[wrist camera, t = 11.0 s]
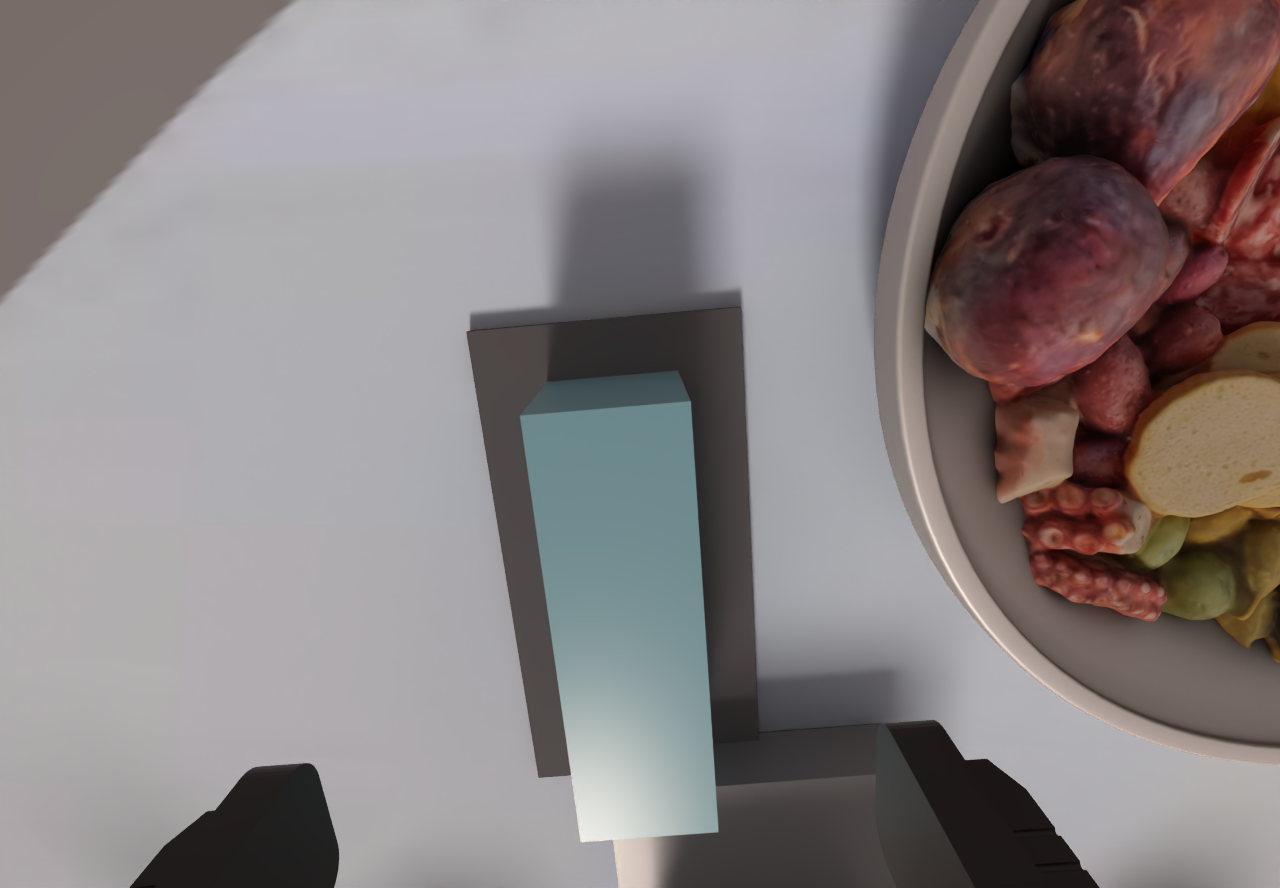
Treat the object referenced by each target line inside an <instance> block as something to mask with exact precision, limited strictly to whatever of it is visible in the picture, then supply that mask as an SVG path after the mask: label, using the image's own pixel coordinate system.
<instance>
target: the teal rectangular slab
mask: <svg viewBox="0 0 1280 888" xmlns="http://www.w3.org/2000/svg"><path fill="white" fill-rule="evenodd" d="M520 420H521V427H522V434H523V441H524V448H525V455H526V462H527V469H528V476H529V483H530V490H531V497H532V504H533V511H534V518H535V525H536V532H537V539H538V546H539V553H540V560H541V567H542V574H543V581H544V588H545V595H546V602H547V609H548V616H549V623H550V630H551V637H552V644H553V651H554V658H555V665H556V672H557V679H558V686H559V694H560V701H561V708H562V715H563V722H564V729H565V736H566V743H567V750H568V757H569V764H570V771H571V778H572V785H573V792H574V799H575V806H576V813H577V820H578V827H579V834H580V841H581V842H591V841H604V840H618V839H632V838H645V837H659V836H673V835H686V834H700V833H714V832H718V816H717V801H716V785H715V770H714V754H713V739H712V723H711V708H710V692H709V677H708V661H707V646H706V630H705V615H704V599H703V584H702V568H701V553H700V537H699V522H698V506H697V490H696V475H695V459H694V444H693V428H692V413H691V401H690V398H689V396H688V393H687V391H686V389H685V386H684V384H683V381H682V379H681V377H680V374H679V372H678V370H677V371H665V372H654V373H642V374H630V375H619V376H607V377H596V378H584V379H572V380H561V381H549V382H546V384H545V385H544V386H543V387H542V389H541V390H540V391H539V392H538V394H537V395H536V396H535V397H534V399H533V400H532V401H531V402H530V404H529V405H528V406H527V407H526V409H525V410H524V411H523V412H522V414H521V415H520Z"/></svg>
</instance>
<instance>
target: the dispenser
mask: <svg viewBox="0 0 1280 888" xmlns="http://www.w3.org/2000/svg"><path fill="white" fill-rule="evenodd" d="M879 725H880V724H869V725H856V726H843V727H830V728H817V729H804V730H791V731H778V732H765V733H759V740H757V741H744V742H731V743H718V744H713V754H714V770H715V785H716V801H717V816H718V832H714V833H700V834H686V835H673V836H659V837H645V838H632V839H618V840H613V844H614V852H615V860H616V868H617V876H618V884H619V888H896V885H895V883H894V880H893V878H892V876H891V873H890V871H889V868H888V866H887V863H886V861H885V858H884V855H883V851H882V848H881V844H880V840H879V835H878V830H877V824H876V814H875V795H876V736H877V729H878V726H879Z"/></svg>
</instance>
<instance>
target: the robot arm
mask: <svg viewBox="0 0 1280 888" xmlns="http://www.w3.org/2000/svg"><path fill="white" fill-rule="evenodd" d="M875 814H876V824H877V830H878V835H879V840H880V844H881V848H882V851H883V855H884V858H885V861H886V863H887V866H888V868H889V871H890V873H891V876H892V878H893V880H894V883H895V885H896V888H1099V886H1098V885H1097V884H1096V882H1095V881H1094V880H1093V878H1092V877H1091V876H1090V874H1089V873H1088V872H1087V870H1083V869H1082V868H1081V865H1080V861H1079V859H1078V858H1077V857H1076V855H1075V854H1074V853H1073V851H1072V850H1071V849H1070V847H1069V846H1068V845H1067V843H1066V842H1065V841H1064V839H1063V838H1062V837H1061V836H1058V835H1057V834H1056V832H1055V827H1054V826H1053V825H1052V823H1051V822H1050V821H1049V819H1048V818H1047V817H1046V815H1045V814H1044V813H1043V811H1042V810H1041V809H1040V807H1039V806H1038V805H1037V803H1036V802H1035V801H1034V799H1033V798H1032V797H1031V795H1030V794H1029V793H1028V791H1027V790H1026V789H1025V788H1024V787H1022V786H1021V785H1020V784H1019V783H1017V782H1016V781H1015V780H1013V779H1012V778H1011V777H1010V776H1008V775H1007V774H1006V773H1004V772H1003V771H1002V770H1000V769H999V768H998V767H997V766H995V765H994V764H993V763H991V762H990V761H989V760H988V759H978V760H965V759H964V758H963V756H962V755H961V753H960V752H959V750H958V749H957V747H956V746H955V744H954V743H953V741H952V740H951V738H950V737H949V735H948V734H947V732H946V731H945V729H944V728H943V727H942V725H941V724H940V723H939V722H937V721H935V720H927V721H913V722H899V723H885V724H880V725H879V726H878V729H877V736H876V795H875ZM338 866H339V848H338V843H337V839H336V836H335V832H334V828H333V825H332V821H331V818H330V814H329V810H328V807H327V803H326V799H325V796H324V792H323V789H322V785H321V781H320V778H319V774H318V772H317V770H316V768H315V767H314V766H313V765H312V764H309V763H303V764H289V765H275V766H261V767H255V768H252V769H250V770H249V771H248V772H246V773H245V774H244V775H243V776H242V777H241V779H240V780H239V781H238V782H237V784H236V785H235V786H234V787H233V789H232V790H231V791H230V792H229V794H228V795H227V796H226V797H225V799H224V800H223V801H222V803H221V804H220V805H219V806H218V808H217V809H216V810H215V811H207V812H206V813H204V814H203V815H202V816H201V817H200V818H198V819H197V820H196V821H195V822H193V823H192V824H191V825H190V826H188V827H187V828H186V829H185V830H183V831H182V832H181V833H180V834H179V835H177V836H176V837H175V838H174V839H172V840H171V841H170V842H169V843H167V844H166V845H165V846H164V847H163V848H162V849H161V851H160V852H159V853H158V854H157V855H156V856H155V858H154V859H153V860H152V861H151V862H150V864H149V865H148V866H147V867H146V868H145V870H144V871H143V872H142V873H141V874H140V876H139V877H138V878H137V879H136V880H135V882H134V883H133V884H132V885H131V886H130V888H334V886H335V882H336V878H337V873H338Z"/></svg>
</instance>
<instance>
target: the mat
mask: <svg viewBox="0 0 1280 888" xmlns="http://www.w3.org/2000/svg"><path fill="white" fill-rule="evenodd" d="M466 333H467V339H468V345H469V351H470V357H471V363H472V370H473V376H474V382H475V388H476V394H477V400H478V407H479V413H480V419H481V425H482V431H483V437H484V444H485V450H486V456H487V462H488V468H489V474H490V481H491V487H492V493H493V499H494V505H495V511H496V518H497V524H498V530H499V536H500V542H501V548H502V555H503V561H504V567H505V573H506V579H507V585H508V592H509V598H510V604H511V610H512V616H513V622H514V629H515V635H516V641H517V647H518V653H519V659H520V666H521V672H522V678H523V684H524V690H525V696H526V703H527V709H528V715H529V721H530V727H531V733H532V740H533V746H534V752H535V758H536V764H537V770H538V777H539V778H541V777H554V776H567V775H571V771H570V764H569V757H568V750H567V743H566V736H565V729H564V722H563V715H562V708H561V701H560V694H559V686H558V679H557V672H556V665H555V658H554V651H553V644H552V637H551V630H550V623H549V616H548V609H547V602H546V595H545V588H544V581H543V574H542V567H541V560H540V553H539V546H538V539H537V532H536V525H535V518H534V511H533V504H532V497H531V490H530V483H529V476H528V469H527V462H526V455H525V448H524V441H523V434H522V427H521V420H520V415H521V414H522V412H523V411H524V410H525V409H526V407H527V406H528V405H529V404H530V402H531V401H532V400H533V399H534V397H535V396H536V395H537V394H538V392H539V391H540V390H541V389H542V387H543V386H544V385H545V384H546V382H549V381H561V380H572V379H584V378H596V377H607V376H619V375H630V374H642V373H654V372H665V371H677V370H678V372H679V374H680V377H681V379H682V381H683V384H684V386H685V389H686V391H687V393H688V396H689V398H690V401H691V413H692V428H693V444H694V459H695V475H696V490H697V506H698V522H699V537H700V553H701V568H702V584H703V599H704V615H705V630H706V646H707V661H708V677H709V692H710V708H711V723H712V739H713V744H718V743H731V742H744V741H757V740H759V731H758V707H757V683H756V658H755V634H754V610H753V586H752V562H751V538H750V514H749V490H748V466H747V442H746V418H745V394H744V370H743V345H742V321H741V307H729V308H718V309H707V310H696V311H685V312H673V313H662V314H651V315H640V316H629V317H617V318H606V319H595V320H584V321H573V322H561V323H550V324H539V325H528V326H517V327H505V328H494V329H483V330H472V331H467V332H466Z"/></svg>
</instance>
